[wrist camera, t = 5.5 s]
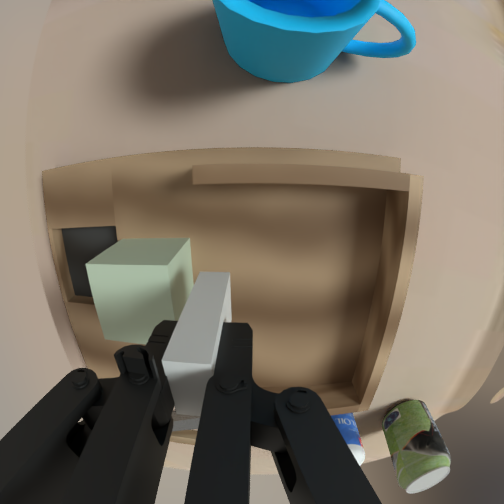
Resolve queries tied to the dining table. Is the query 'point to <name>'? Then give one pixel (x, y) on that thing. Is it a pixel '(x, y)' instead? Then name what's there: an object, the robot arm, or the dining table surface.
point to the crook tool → (184, 422)
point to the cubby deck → (257, 252)
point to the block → (140, 285)
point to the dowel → (184, 436)
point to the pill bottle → (350, 434)
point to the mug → (304, 34)
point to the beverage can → (415, 446)
